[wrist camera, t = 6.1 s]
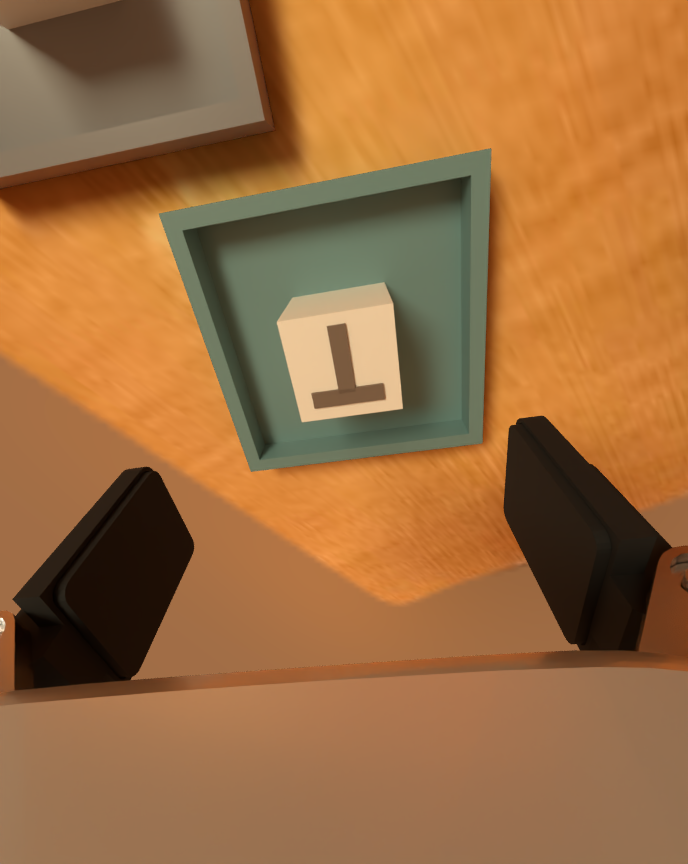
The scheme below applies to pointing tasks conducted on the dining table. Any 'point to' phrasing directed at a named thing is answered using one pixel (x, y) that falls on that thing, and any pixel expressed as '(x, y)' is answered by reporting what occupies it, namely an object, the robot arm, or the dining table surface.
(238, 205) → the teal tray
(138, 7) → the charcoal tray
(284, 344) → the letter cube
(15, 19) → the blank cube
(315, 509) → the dining table surface
